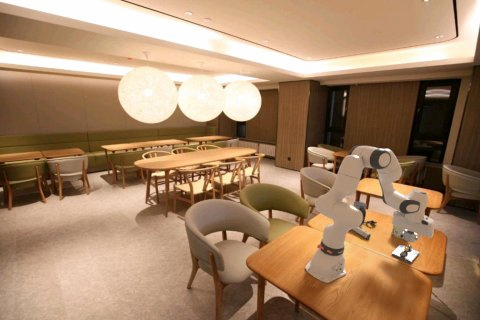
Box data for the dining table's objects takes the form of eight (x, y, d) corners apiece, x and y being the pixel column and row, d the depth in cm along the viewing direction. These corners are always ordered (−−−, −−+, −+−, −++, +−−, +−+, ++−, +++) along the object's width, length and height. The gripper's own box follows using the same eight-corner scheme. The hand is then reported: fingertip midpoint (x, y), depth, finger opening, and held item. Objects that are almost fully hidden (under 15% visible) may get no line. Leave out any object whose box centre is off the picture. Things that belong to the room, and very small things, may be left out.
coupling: (413, 243, 136) (414, 236, 135) (401, 239, 141) (403, 231, 139) (416, 240, 140) (417, 232, 138) (404, 235, 144) (406, 228, 143)
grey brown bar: (367, 235, 155) (336, 215, 175) (364, 243, 158) (334, 222, 177) (372, 233, 158) (340, 213, 178) (369, 241, 160) (338, 220, 180)
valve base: (410, 264, 134) (412, 256, 133) (391, 255, 142) (393, 247, 140) (418, 254, 143) (420, 247, 142) (400, 246, 151) (401, 239, 149)
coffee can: (409, 234, 165) (413, 216, 162) (408, 241, 157) (412, 222, 154) (392, 229, 171) (395, 212, 168) (390, 235, 163) (394, 217, 160)
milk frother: (348, 218, 185) (351, 201, 182) (365, 217, 188) (369, 200, 184) (360, 228, 172) (363, 209, 168) (378, 226, 174) (382, 208, 171)
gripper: (392, 211, 142) (388, 231, 146) (434, 225, 127) (428, 247, 130) (396, 208, 146) (392, 228, 149) (437, 221, 131) (431, 243, 134)
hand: (409, 237), depth 140 cm, fingers closed on coupling, 6 cm apart
